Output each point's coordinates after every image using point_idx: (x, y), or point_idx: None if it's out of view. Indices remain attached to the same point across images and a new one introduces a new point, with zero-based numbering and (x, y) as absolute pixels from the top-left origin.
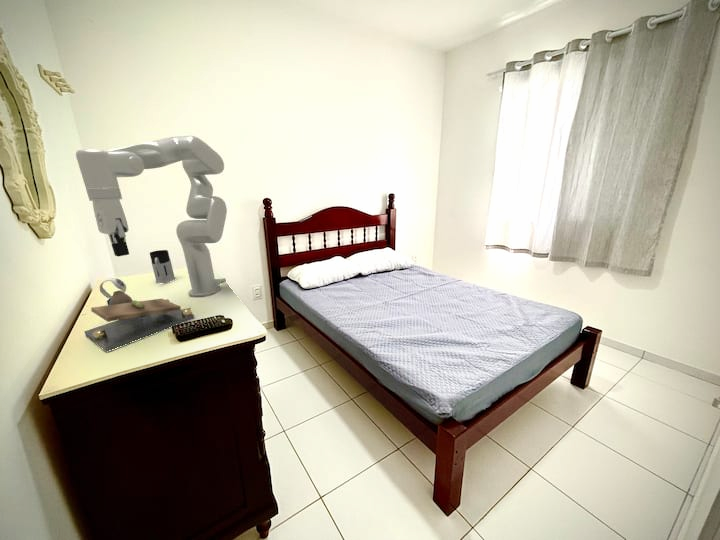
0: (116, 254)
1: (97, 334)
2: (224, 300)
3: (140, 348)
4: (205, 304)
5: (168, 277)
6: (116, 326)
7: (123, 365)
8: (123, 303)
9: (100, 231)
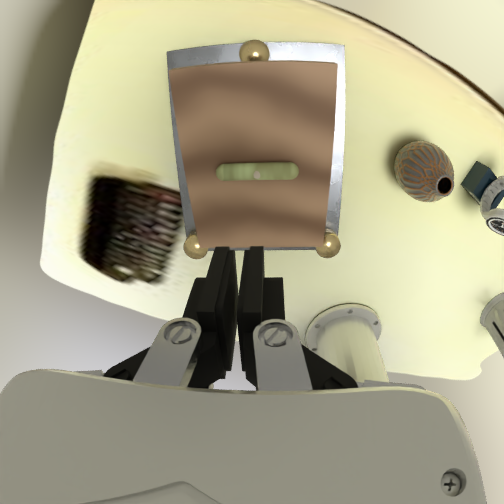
0: (214, 251)
1: (240, 48)
2: None
3: (128, 109)
4: None
5: (489, 320)
6: None
7: (85, 73)
8: (332, 150)
9: (365, 402)
